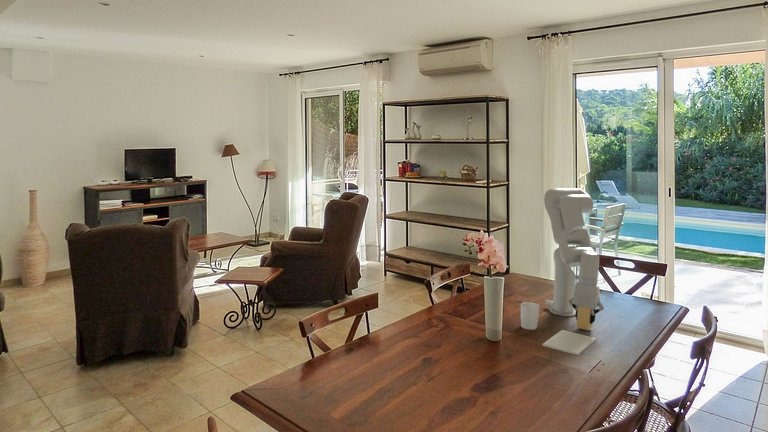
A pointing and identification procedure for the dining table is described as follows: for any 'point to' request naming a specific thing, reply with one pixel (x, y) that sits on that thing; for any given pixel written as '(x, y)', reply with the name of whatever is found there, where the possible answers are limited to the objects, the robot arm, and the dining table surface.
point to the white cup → (529, 315)
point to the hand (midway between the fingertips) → (584, 320)
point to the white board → (569, 342)
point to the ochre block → (584, 318)
